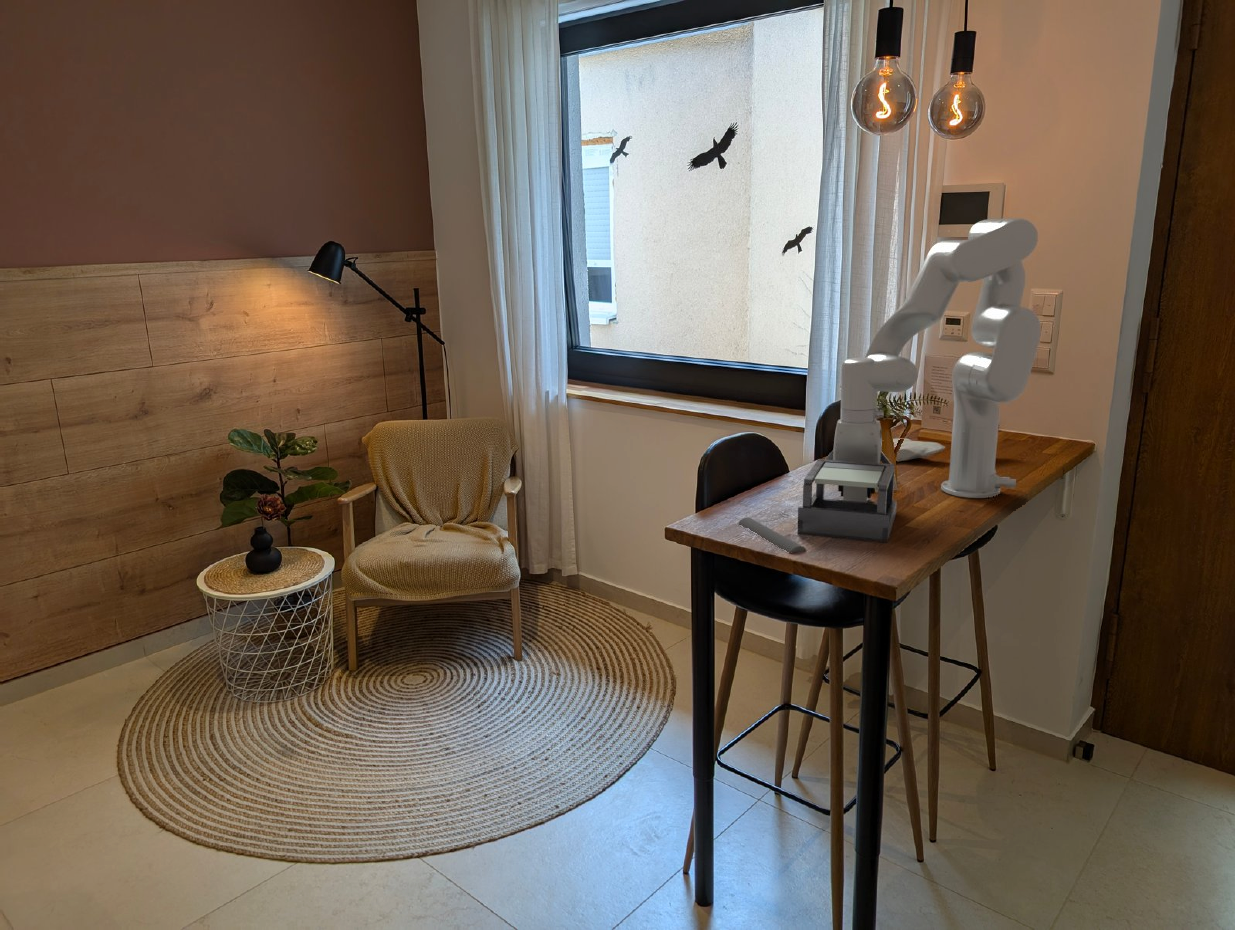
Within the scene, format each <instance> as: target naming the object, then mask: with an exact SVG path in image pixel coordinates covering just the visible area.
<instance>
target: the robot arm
mask: <svg viewBox="0 0 1235 930" xmlns="http://www.w3.org/2000/svg"><path fill="white" fill-rule="evenodd" d="M1038 241H1039V233H1038V229H1037V228H1036V226H1035V225H1034V223H1032V221H1029V220H1027V219H1025V218H1019V217H1018V218H1017V217H1012V218H1011V217H1010V218H1008V217H1007V218H989V219H983V220H980V221H978V222H976V223H974V224H973V225H971V227H970V230H969V232H968V236H967V239H964V240H963V239H952V240H951V239H950V240H949V239H948V240H941V241H938V242H937V243H935V244H934V245H933V246H932V247H931V248H930V250H929V251H928V253H927V255H926V257H925V258H924V261H923V263H922V265H921V266H920V269H919V271H918V274H917V275H916V277H915V279H914V281H913V284H912V285H911V287H910V290H909V292H908V293H907V295H906V297H905V300H904V301H903V303H902V304H901V305H900V306H899V308H898V309H897V310H896V311H895V312H894V313H893V314H892V315H891V316H890V317H889V318H888V319H887V320H886V321H885V323H883V324H882V326H881V327H880V328H878V329H879V330H878V331H877V333H876V334H875V335H874V336H873V339H872V341H871V343H870V345H869V347H868V349H867V351H866V353H865V356H864V357H854V358H853V357H852V358H851V357H850V358H847V359H846V360H844V361H843V362H842V364H841V380H840V382H841V383H840V385H841V386H840V387H841V389H840V419H838V420H837V422H836V427H835V431H834V432H835V433H834V439H833V442H834V443H833V450H832V451H831V452H830V453H829V454H828V456H826V457H825V458H824V460H839V461H853V462H867V463H882V464H893V462H890V461H889V459H888V458H887V457H886V456H885V454H884V453H883V452H882V441H883V437H882V435H883V434H882V426H881V421H880V420H878V419H880V418H884V410H880V409H878V407H877V405H878V401H877V400H878V392H887V393H888V392H889V393H890V392H891V393H900V392H905V391H908V390H910V389H911V388H912V387H913V386H915V384H916V383H917V381H918V378H919V372H918V368H917V366H916V364H915V363H914V362H913V361H911V360H910V359H908V358H906V357H903V356H900V354H901V352H902V350H904V348H905V346H906V345H907V343H908V342H909V341H910V340H911V339H913V337H914V336H915V335H917V334H919V333H920V332H922V331H925V330H927V329H928V328H931V327H932V326H933V325H935V324H938V323H939V322H940V321H941V320H942V319H943V317H944V314H945V312H946V310H947V308H948V305H949V304H950V301H951V300H952V298H953V295H954V294H955V292H956V290H957V288H958V286H959V284H960V283H973V282H977V281H980V280H982V282H981V283H982V284H981V289H980V292H979V297H978V301H977V304H976V308H975V312H974V315H973V318H972V323H971V329H970V333H971V337H972V339H973V340H974V342H976V343H977V344H979V345H981V346H984V347H988V348H990V349H993V351H992V353H988V352H982V351H981V352H980V351H978V352H977V351H974V352H969V353H966V354H964V355H963V356H961V357H959V358H958V360H957V361H956V362H955V363H954V367H953V369H952V371H951V372H952V373H951V383H952V392H953V422H952V431H951V432H952V433H951V446H950V459H949V471H948V472H949V473H948V474H949V475H948V480H945V481H942V483H941V484H940V486H941V487H940V489H941V490H942V491H943V492H944V493H946V494H948V495H952V496H956V497H961V498H969V499H985V498H986V499H987V498H988V497H989V498H993V496H994V497H997V496H998V494H999V495H1000V493H1001V487H1006V488H1016V486H1017V479H1016V478H1011V477H1009V476H1000V475H997V471H996V460H997V459H996V458H997V448H998V447H997V445H998V437H999V436H998V435H999V430H998V426H999V427H1000V407H999V403H1000V404H1003V403H1005V404H1006V403H1012V402H1013V401H1015V400H1016V399H1018V398H1019V397H1020V396H1021V395H1022V394H1023V392H1024V390H1025V389H1026V387H1027V384H1028V382H1029V379H1030V375H1031V373H1032V369H1033V365H1034V362H1035V359H1036V355H1037V353H1038V348H1039V345H1040V341H1041V335H1042V326H1041V322H1040V319H1039V317H1038V315H1037V314H1036V313H1035V312H1034V311H1033V310H1032V309H1030V308H1028V307H1026V306H1021V303H1022V300H1023V295H1024V291H1025V290H1024V289H1025V286H1026V285H1025V284H1026V272H1025V267H1024V263H1023V260H1025V259H1027V258H1028V257H1029V256H1030V255H1031V254H1032V253H1033V252H1034V251H1035V249H1036V247H1037V245H1038ZM884 471H885V470H884ZM837 488H838V489H837V491H838V492H839V493H840V497H843V485H837ZM875 491H876V488H868V487H867V498H868V499H871V497H872V496H873V494H875ZM996 495H997V496H996Z"/></svg>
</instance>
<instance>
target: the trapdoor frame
mask: <svg viewBox="0 0 1235 930" xmlns="http://www.w3.org/2000/svg"><path fill="white" fill-rule="evenodd" d="M826 462H827V463H841V464H855V465H869V466H883V467H884V470H885V471H884V474H883V476H882V478H881V481H880V482H879V485H878V491H877V503H876V502H868V501H867V502H857V501H845V500H843V499H831V498H825V485H826V484H817V483H815V477H816V476H817V474H818V473H819V471H820V470H821V468H822V467H823V465H824V464H825V463H826ZM895 469H896V464H894V463H892V464H883V463H882V462H880V463H867V462H853V461H839V460H833V459H832V460H825V458H824V459H821V458H818V459H817V461H816V462H815V463H814V465H813V466H812V468H811V469H810V470H809V472H808V473H807V474H806V475H805V477H804V479H803V484H802V485H803V486H802V488H803V489H802V505H798V508H797V534H798V535H807V536H817V537H826V538H834V539H835V538H836V539H847V540H857V541H864V542H865V541H867V542H874V543H875V542H877V543H888V541H889V538H890V535H891V532H892V528H893V524H894V522H895V518H896V515H897V506H898V505H897V503H898V502H897V501H898V500H897V499H894V485H895ZM813 483H815V484H816V486H815V488H816V489H815V493H813Z"/></svg>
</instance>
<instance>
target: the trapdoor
mask: <svg viewBox="0 0 1235 930" xmlns="http://www.w3.org/2000/svg"><path fill="white" fill-rule="evenodd" d="M883 474H884V467H883V466H869V465H855V464H841V463H827V462H826V463H825V464H824V465H823V467H822V468H821V470H820V471H819V473H818V474H817V476H816V477H815V480H814V484H816V483H817V484H825V485H829V486H830V485H832V486H838V485H843V486H855V487H868V488H875V489H878V488H879V483H880V481H881V478H882V476H883Z"/></svg>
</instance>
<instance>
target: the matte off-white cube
mask: <svg viewBox="0 0 1235 930" xmlns="http://www.w3.org/2000/svg"><path fill="white" fill-rule="evenodd" d="M842 497H843V498H842V500H845V501H857V502H868V500H869V498H867V487H855V486H843V496H842Z"/></svg>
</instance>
